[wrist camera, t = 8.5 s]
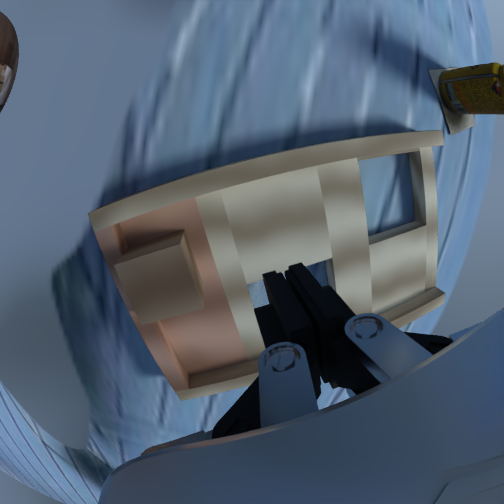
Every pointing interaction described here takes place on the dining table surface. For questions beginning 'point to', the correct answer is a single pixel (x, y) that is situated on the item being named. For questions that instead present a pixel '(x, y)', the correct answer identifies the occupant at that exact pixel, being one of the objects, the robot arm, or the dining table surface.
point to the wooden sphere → (7, 58)
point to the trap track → (277, 248)
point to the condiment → (469, 93)
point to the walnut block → (161, 278)
